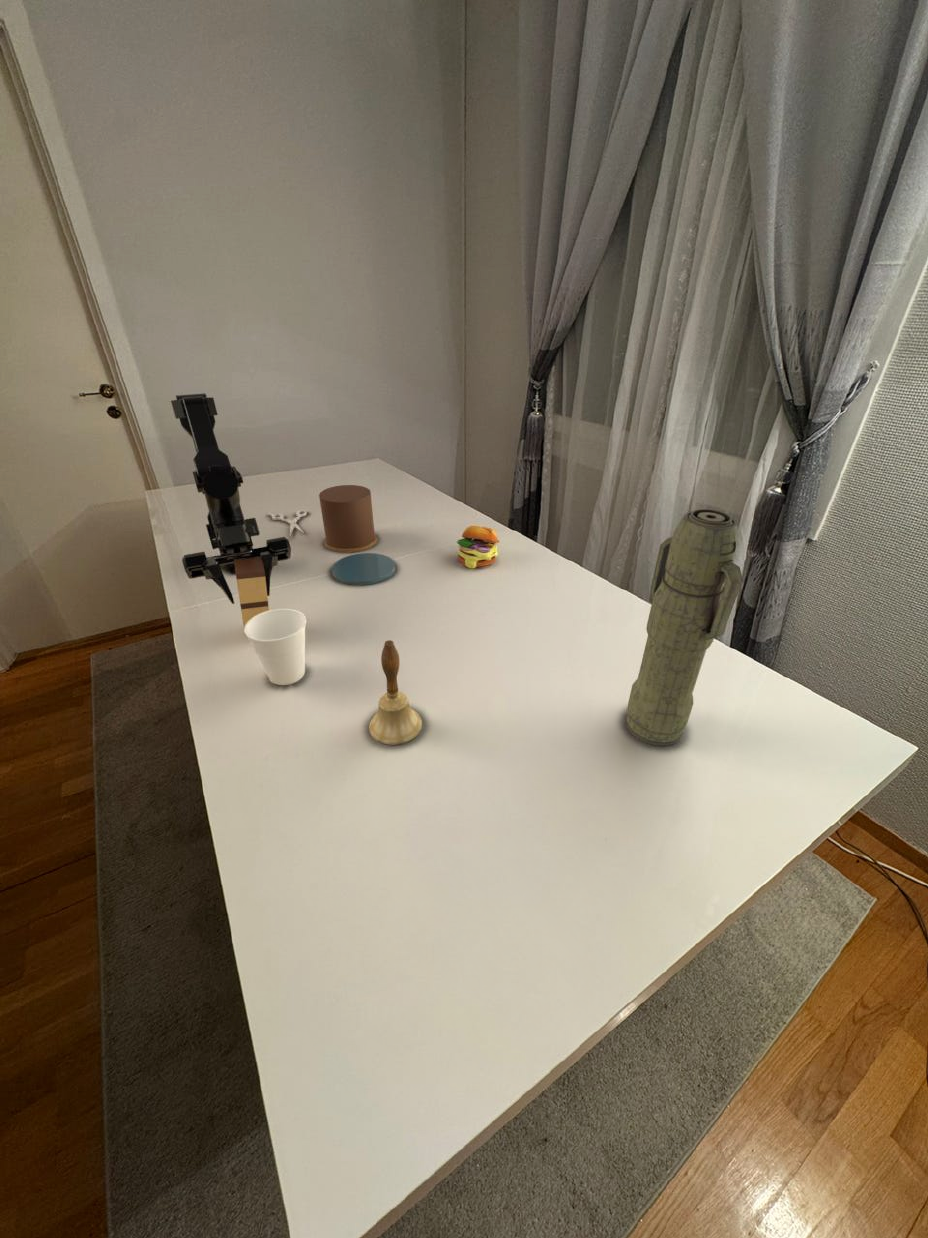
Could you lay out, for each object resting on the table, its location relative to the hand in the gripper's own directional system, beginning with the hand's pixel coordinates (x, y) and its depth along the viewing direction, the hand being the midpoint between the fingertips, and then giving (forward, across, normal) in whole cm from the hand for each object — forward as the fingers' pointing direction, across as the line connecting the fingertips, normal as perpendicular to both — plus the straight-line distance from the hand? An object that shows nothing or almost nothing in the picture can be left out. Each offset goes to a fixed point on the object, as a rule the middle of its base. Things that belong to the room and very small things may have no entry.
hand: (251, 599), depth 97 cm
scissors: (-32, +18, +45) cm, 59 cm away
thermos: (+44, +51, -32) cm, 74 cm away
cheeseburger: (-1, +54, +14) cm, 56 cm away
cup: (+16, +2, -4) cm, 17 cm away
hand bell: (+31, +15, -18) cm, 39 cm away
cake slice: (+4, 0, +6) cm, 7 cm away
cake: (-19, +30, +32) cm, 48 cm away
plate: (-7, +27, +19) cm, 34 cm away
